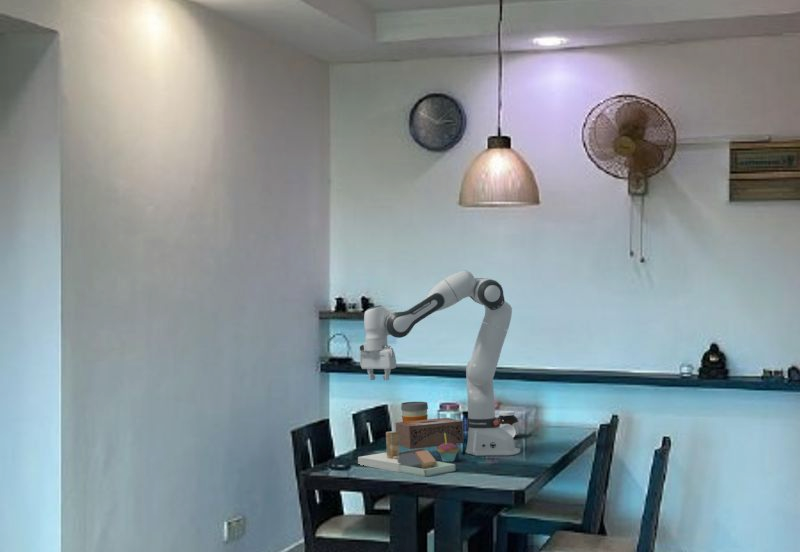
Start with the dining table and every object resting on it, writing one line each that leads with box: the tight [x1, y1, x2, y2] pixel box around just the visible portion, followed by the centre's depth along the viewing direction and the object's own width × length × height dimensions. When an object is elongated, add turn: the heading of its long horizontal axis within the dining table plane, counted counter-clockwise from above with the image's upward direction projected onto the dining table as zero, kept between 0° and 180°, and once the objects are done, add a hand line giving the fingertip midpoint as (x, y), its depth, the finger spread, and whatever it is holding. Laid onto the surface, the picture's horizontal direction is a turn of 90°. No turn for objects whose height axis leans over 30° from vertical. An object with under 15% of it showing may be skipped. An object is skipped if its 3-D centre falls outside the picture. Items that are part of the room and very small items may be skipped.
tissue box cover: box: [394, 417, 464, 450], centre depth 459 cm, size 26×14×10 cm, turn 114°
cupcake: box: [437, 431, 460, 463], centre depth 414 cm, size 9×8×12 cm
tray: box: [398, 460, 457, 478], centre depth 392 cm, size 15×15×2 cm
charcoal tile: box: [398, 452, 422, 468], centre depth 394 cm, size 6×6×3 cm
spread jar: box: [496, 410, 520, 439], centre depth 468 cm, size 12×11×12 cm
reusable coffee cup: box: [400, 401, 429, 422], centre depth 487 cm, size 13×13×15 cm
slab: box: [357, 451, 401, 473], centre depth 407 cm, size 25×15×3 cm, turn 40°
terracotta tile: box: [415, 449, 437, 469], centre depth 398 cm, size 6×6×3 cm
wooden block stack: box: [385, 430, 424, 463], centre depth 404 cm, size 13×12×10 cm
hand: (379, 380), depth 424 cm, fingers open, 8 cm apart
